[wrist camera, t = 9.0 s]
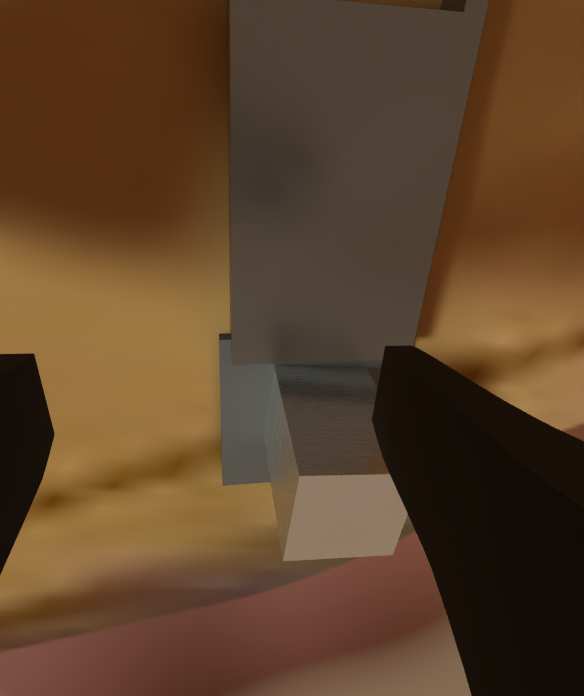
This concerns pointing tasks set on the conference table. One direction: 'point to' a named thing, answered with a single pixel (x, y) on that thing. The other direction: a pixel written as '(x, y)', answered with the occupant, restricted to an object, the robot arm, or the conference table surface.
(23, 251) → the conference table surface
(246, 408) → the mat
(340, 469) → the pale grey square block
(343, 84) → the rail
